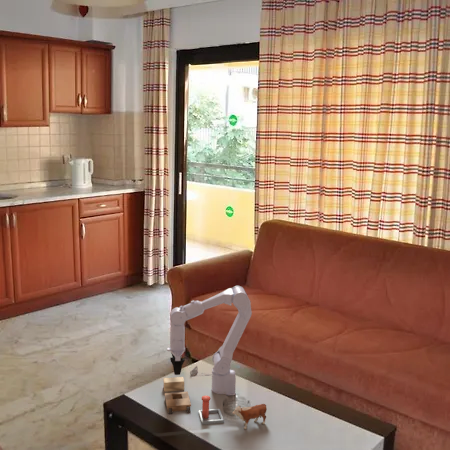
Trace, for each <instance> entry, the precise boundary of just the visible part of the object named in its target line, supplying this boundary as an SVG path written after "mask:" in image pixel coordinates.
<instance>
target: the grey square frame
mask: <svg viewBox="0 0 450 450" xmlns="http://www.w3.org/2000/svg"><path fill="white" fill-rule="evenodd" d="M212 413H214V414H215V413H217V414H218V416H219V419H208V420H206V419H205V420H204V418H203V417H202V409H201V410H200V409H199V410H198V415H199V419H200V422H201V425H210V424H212V425H213V424H224V421H225V420H224V417H223V415H222V414H223V413H222V411H221V408H212V409H210V408H209V414H212Z"/></svg>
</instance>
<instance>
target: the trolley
mask: <svg viewBox="0 0 450 450" xmlns="http://www.w3.org/2000/svg"><path fill="white" fill-rule="evenodd" d="M164 398H165V403H166V404H165V405H166V408H167V413H168V415H173V412H183V411H186V413H187V414H189V413H191V407H192V403H191V400H190V396H189V392H188V391H178V392H177V391H174V392H165V393H164Z"/></svg>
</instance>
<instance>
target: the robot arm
mask: <svg viewBox="0 0 450 450" xmlns="http://www.w3.org/2000/svg"><path fill="white" fill-rule="evenodd" d="M222 304H225V305H227V306H232V305H233V306H234V307H235V308H236V309H237V311H238V313H237V315H236V317H235V319H234V320H233V323H232V325H231V327H230V328H229V332H228V333H227V335H226V337H225V339H224V341H223V344H222V345H221V346H219V348H218V350H217V351H216V352H215V353H213V355H212V362H213V367H212V369H211V374H212V375H211V391H212V393H215V394H218V395H224V394H225V395H226V397H227V396H236V383H237V382H236V377H237V376H236V371H235V369H231V363H232V361H233V354H234V352H235V350H236V348H237V346H238V344H239V342H240V340H241V337H242V336H243V333H244V332H245V329H246V328H247V325H248V324H249V321H250V320H251V317H252V314H253V312H252V305H251V299H250V298H249V296H248V294H247V291H246V290H245V288H244V287H243V286H240V285H235V286H233V287H229V288H227V289H225V290H223V291H221V292H220V293H219V292H218V293H217V294H216V295H213V296H210V297H209V298H206V299H204V300H202V301H200V300H191V301H190V303H187V304H185V305H180V306H179V307H178V306H176V307H174V308H172V309H171V311H170V313H169V316H170V328H169V329H170V331H169V335H170V336H169V337H170V339H169V340H170V341H169V342H170V343H169V347H167V348H166V351H167V352H170V353H171V356H172V357H170V359H169V361H170V362H171V364H172V368H173V372H174V373H173V374H174V376H180V375H181V374H182V373H181V372H182V368H183V365H184V363H185V361H186V360H185V359H186V357H182V355H183V354H184V352H186V347H185V341H186V340H185V339H186V338H185V337H186V335H185V334H186V327H185V324H186V322H187V321H188V320H191V319H194V318H196V317H198V316H200V315H203V314H204V312H205V310H208V309H211V308H215V307H216V306H220V305H222Z"/></svg>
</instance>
